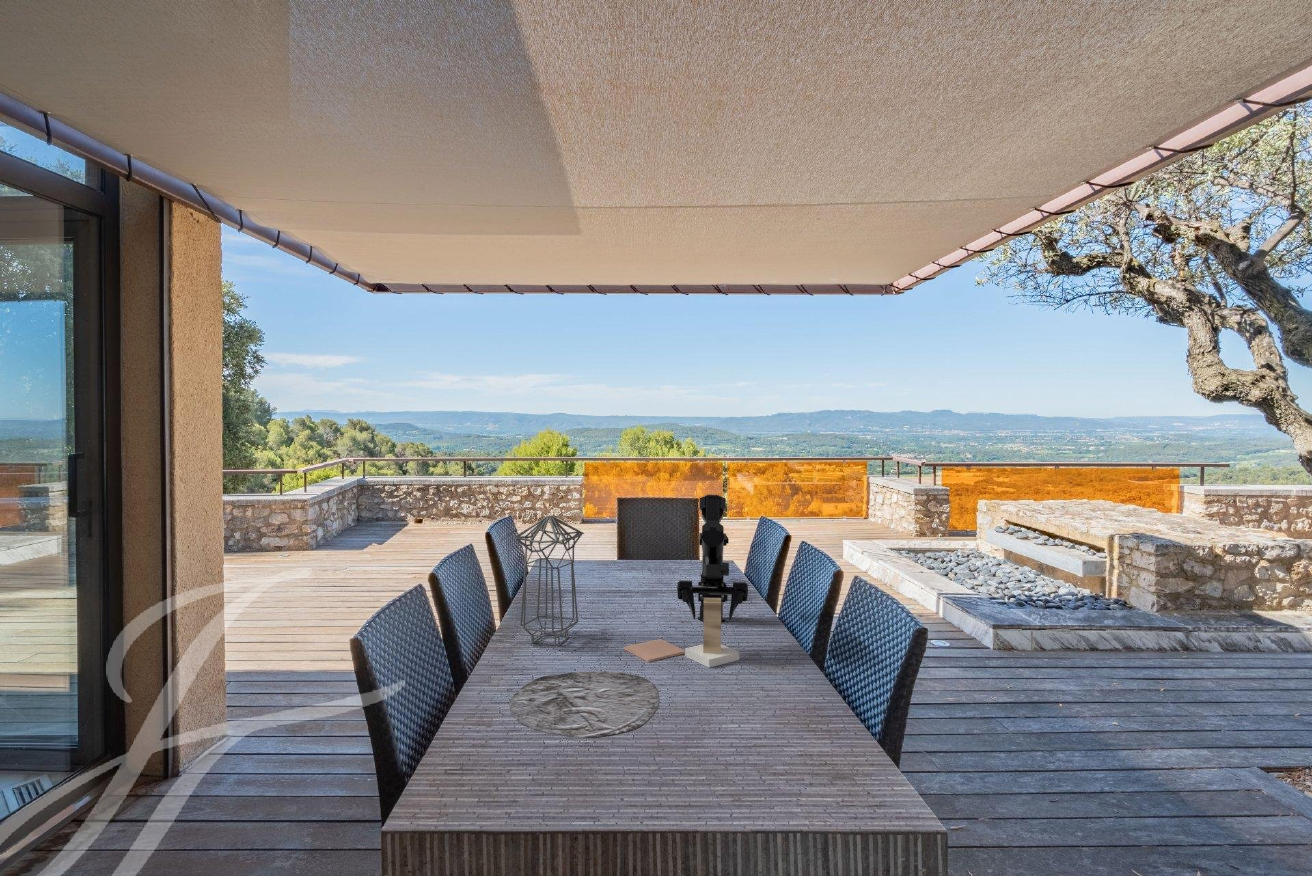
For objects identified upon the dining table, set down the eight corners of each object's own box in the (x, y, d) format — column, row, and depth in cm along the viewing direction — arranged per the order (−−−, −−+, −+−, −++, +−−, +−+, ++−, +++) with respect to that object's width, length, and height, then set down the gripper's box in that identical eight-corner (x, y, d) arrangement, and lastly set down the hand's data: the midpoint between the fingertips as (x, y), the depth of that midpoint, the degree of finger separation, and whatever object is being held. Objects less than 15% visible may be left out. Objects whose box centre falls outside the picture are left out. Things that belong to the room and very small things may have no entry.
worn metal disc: (515, 748, 128) (515, 746, 128) (505, 679, 162) (505, 678, 162) (684, 728, 137) (684, 726, 137) (641, 667, 170) (641, 665, 170)
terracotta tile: (660, 640, 190) (660, 638, 190) (686, 653, 180) (686, 650, 180) (623, 648, 183) (623, 646, 183) (648, 662, 173) (648, 659, 173)
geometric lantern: (561, 652, 180) (562, 521, 179) (509, 645, 185) (510, 517, 184) (586, 634, 195) (587, 513, 194) (538, 629, 200) (538, 510, 199)
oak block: (703, 647, 179) (703, 597, 179) (720, 647, 179) (721, 598, 178) (703, 652, 175) (703, 602, 174) (720, 653, 174) (721, 603, 174)
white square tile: (714, 648, 184) (714, 641, 184) (739, 659, 175) (739, 652, 175) (684, 655, 178) (685, 648, 178) (709, 667, 170) (709, 659, 170)
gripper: (677, 550, 183) (675, 601, 172) (748, 552, 181) (749, 604, 170) (679, 573, 191) (676, 624, 180) (746, 575, 189) (747, 626, 178)
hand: (712, 619), depth 177 cm, fingers open, 9 cm apart
